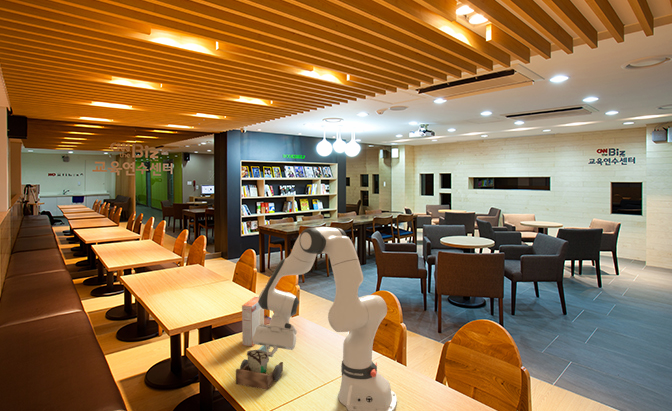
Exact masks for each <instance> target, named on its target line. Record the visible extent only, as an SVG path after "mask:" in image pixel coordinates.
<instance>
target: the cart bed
mask: <svg viewBox="0 0 672 411" xmlns="http://www.w3.org/2000/svg"><path fill="white" fill-rule="evenodd" d="M283 372H284V362H283V361H280V362H279V363H278V364H276V365H275V366H274V368H273V370H272V371H271V372H270V373H269V374H268V373H266V374H264V373H259V372H253V371H248V359H247V358H245V359H243V360H242V361H241V363H240V366H239V368H236V369H235V384H236V385H239V386H244V387H249V388H254V389H260V390H264V391H268V390H269V388H270V387H271V386H272V384H274V383H275V381H276V382H278V381H279V380H280V378H281V375H282V373H283Z"/></svg>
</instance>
